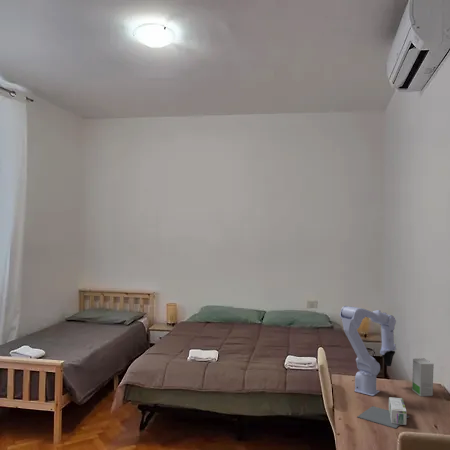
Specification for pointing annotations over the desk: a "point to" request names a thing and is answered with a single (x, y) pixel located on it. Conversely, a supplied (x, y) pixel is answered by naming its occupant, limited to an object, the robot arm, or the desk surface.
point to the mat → (378, 416)
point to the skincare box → (422, 377)
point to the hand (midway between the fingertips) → (388, 365)
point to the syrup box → (397, 411)
